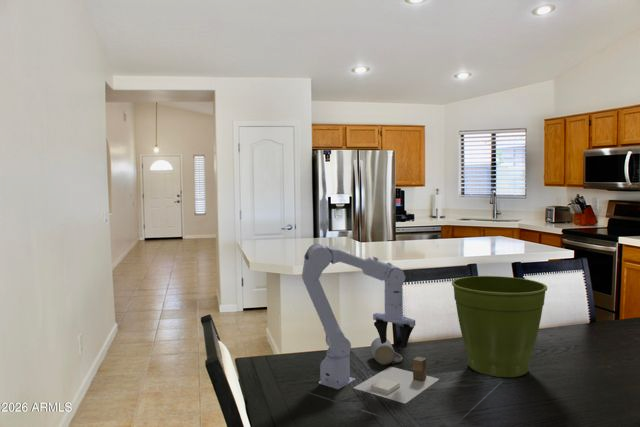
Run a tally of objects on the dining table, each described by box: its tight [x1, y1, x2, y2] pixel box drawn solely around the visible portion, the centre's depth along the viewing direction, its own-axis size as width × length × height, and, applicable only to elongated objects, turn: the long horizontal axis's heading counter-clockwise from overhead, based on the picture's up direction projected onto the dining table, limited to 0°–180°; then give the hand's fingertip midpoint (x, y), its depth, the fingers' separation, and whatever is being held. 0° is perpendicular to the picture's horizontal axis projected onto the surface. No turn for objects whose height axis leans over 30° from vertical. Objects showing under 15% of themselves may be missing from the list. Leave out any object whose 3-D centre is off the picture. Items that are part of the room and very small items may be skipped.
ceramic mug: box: [370, 336, 403, 365], centre depth 174 cm, size 11×8×8 cm
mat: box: [353, 366, 440, 405], centre depth 154 cm, size 22×18×1 cm
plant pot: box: [451, 275, 548, 378], centre depth 166 cm, size 30×30×29 cm
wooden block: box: [412, 356, 427, 382], centre depth 157 cm, size 3×3×6 cm
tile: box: [371, 378, 400, 394], centre depth 151 cm, size 1×6×7 cm
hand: (393, 345), depth 160 cm, fingers open, 7 cm apart
